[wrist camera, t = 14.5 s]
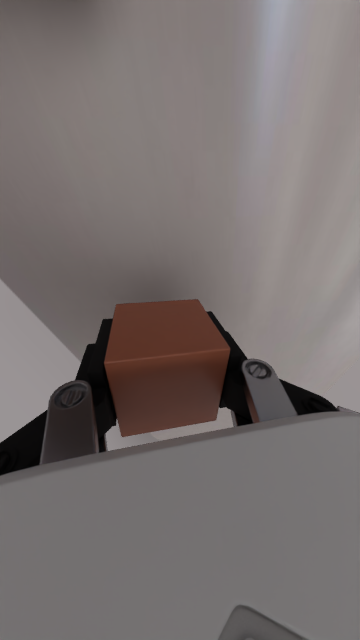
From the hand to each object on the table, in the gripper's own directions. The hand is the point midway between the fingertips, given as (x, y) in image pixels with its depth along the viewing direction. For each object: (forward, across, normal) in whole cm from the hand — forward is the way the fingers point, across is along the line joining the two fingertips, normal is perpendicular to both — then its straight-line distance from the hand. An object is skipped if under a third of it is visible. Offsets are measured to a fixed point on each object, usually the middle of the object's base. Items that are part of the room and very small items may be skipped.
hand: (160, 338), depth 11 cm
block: (0, 0, 0) cm, 0 cm away
